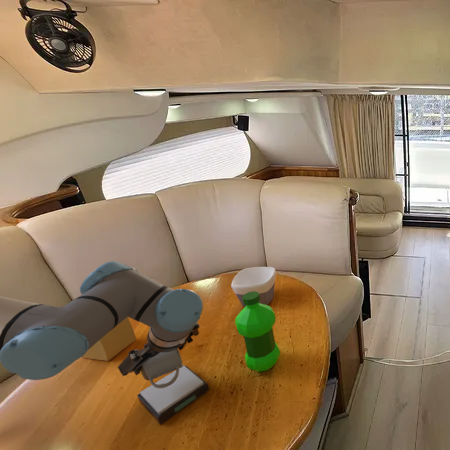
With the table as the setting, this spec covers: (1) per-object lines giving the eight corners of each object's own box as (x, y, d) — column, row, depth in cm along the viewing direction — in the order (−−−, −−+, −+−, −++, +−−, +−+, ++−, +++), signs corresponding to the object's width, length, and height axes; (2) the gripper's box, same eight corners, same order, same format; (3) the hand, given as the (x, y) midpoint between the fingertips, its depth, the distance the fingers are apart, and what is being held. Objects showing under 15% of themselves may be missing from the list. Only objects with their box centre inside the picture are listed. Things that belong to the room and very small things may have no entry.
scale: (160, 425, 77) (157, 416, 76) (139, 401, 83) (136, 392, 82) (209, 390, 87) (207, 381, 86) (187, 371, 93) (185, 363, 92)
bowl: (245, 290, 133) (240, 267, 129) (282, 287, 135) (279, 265, 131) (231, 312, 119) (225, 287, 115) (273, 309, 121) (268, 285, 117)
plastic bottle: (239, 367, 94) (222, 297, 85) (271, 347, 102) (258, 281, 93) (257, 384, 89) (241, 311, 80) (289, 361, 96) (278, 293, 87)
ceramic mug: (143, 370, 83) (134, 348, 80) (180, 355, 88) (173, 333, 85) (148, 397, 76) (138, 373, 73) (187, 378, 81) (180, 356, 78)
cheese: (111, 336, 107) (101, 312, 103) (139, 339, 105) (130, 315, 102) (78, 359, 97) (66, 333, 93) (108, 363, 96) (97, 337, 92)
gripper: (116, 379, 60) (112, 400, 73) (228, 317, 77) (208, 343, 91) (96, 347, 60) (96, 373, 74) (211, 292, 78) (194, 322, 91)
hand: (157, 357), depth 82 cm, fingers closed on ceramic mug, 9 cm apart
